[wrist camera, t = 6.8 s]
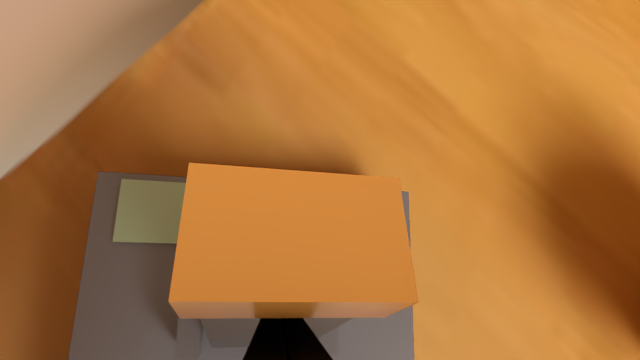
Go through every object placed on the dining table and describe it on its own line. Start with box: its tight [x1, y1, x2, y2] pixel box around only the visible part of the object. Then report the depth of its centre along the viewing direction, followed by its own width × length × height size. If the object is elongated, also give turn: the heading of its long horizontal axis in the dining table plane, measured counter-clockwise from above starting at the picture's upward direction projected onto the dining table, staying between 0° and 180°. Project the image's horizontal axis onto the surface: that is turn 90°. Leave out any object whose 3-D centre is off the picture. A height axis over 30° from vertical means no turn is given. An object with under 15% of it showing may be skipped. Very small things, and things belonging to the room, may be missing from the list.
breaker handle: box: [168, 163, 418, 348], centre depth 11 cm, size 2×4×11 cm, turn 88°
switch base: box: [68, 171, 414, 360], centre depth 16 cm, size 12×14×5 cm
